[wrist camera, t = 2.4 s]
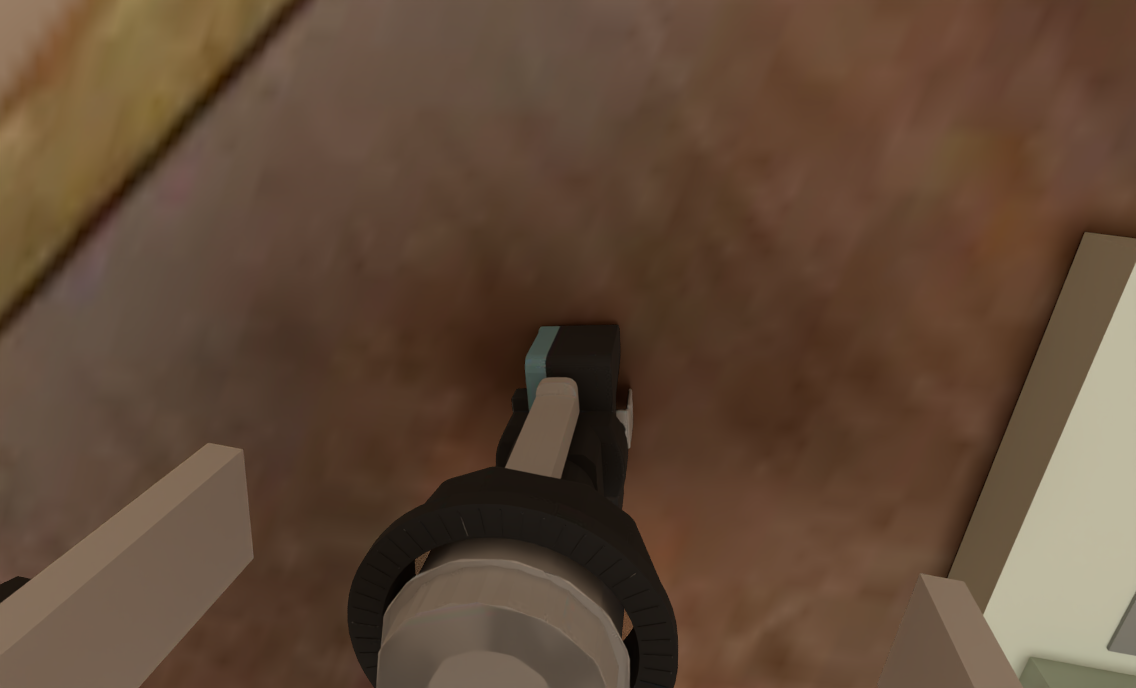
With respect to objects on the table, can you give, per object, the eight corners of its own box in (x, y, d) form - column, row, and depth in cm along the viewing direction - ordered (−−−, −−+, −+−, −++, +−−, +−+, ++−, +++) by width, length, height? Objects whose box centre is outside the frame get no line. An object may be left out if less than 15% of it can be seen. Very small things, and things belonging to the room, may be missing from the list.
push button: (677, 522, 20) (682, 899, 11) (502, 517, 21) (367, 863, 12) (674, 308, 18) (675, 555, 8) (477, 313, 18) (282, 541, 9)
